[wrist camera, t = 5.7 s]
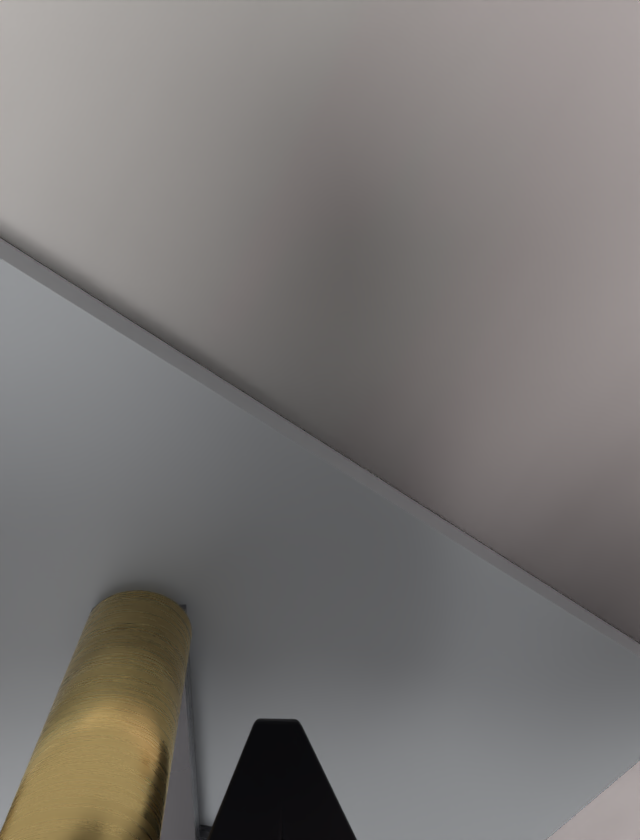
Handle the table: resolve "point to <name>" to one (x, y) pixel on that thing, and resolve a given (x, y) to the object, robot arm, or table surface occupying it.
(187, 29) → the table surface
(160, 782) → the metal measuring spoon
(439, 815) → the board
